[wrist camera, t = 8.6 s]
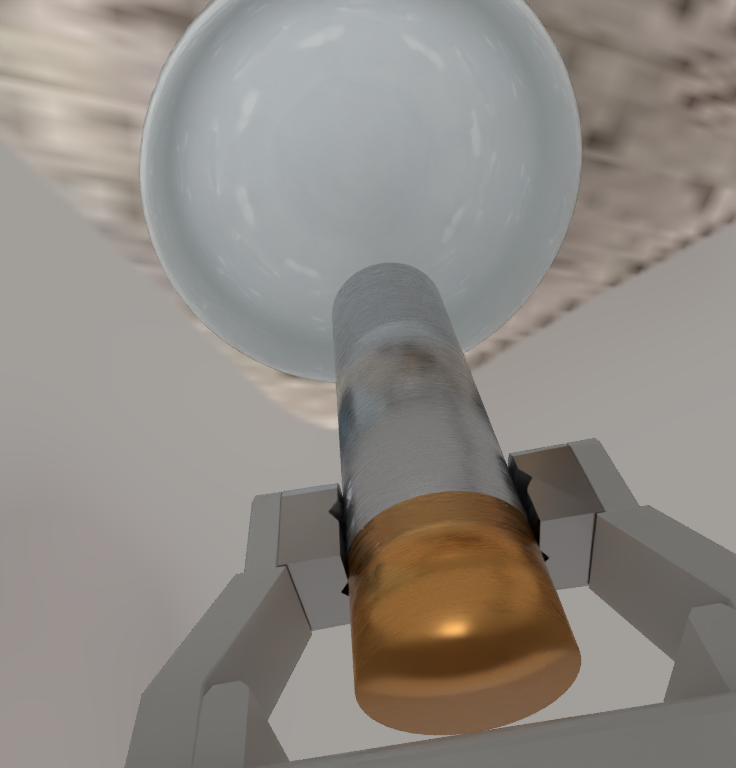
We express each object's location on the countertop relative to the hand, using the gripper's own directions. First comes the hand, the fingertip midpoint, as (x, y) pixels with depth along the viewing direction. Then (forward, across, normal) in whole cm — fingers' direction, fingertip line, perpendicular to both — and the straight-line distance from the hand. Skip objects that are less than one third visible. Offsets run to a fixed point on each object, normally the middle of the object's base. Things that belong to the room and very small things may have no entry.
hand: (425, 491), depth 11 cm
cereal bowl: (+22, 0, 0) cm, 22 cm away
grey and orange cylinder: (+7, 0, 0) cm, 7 cm away
